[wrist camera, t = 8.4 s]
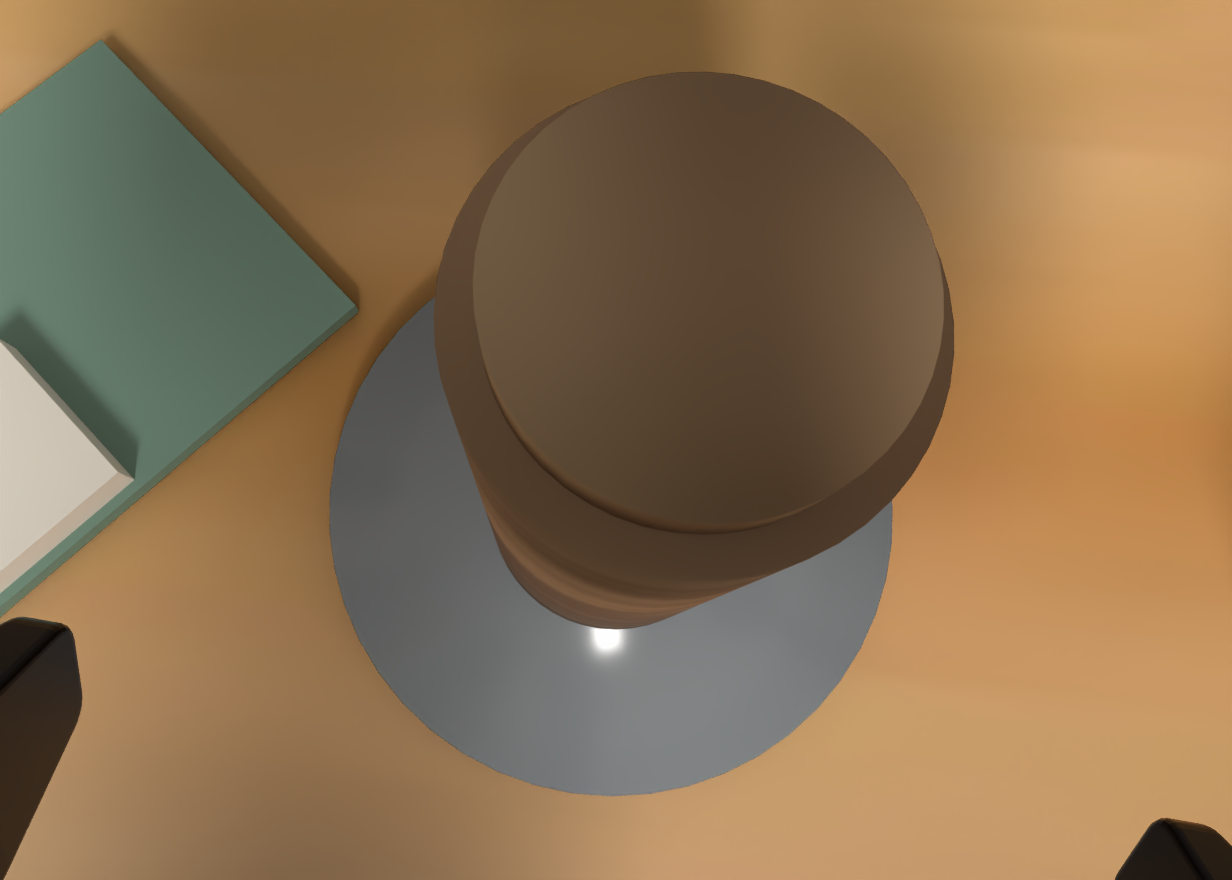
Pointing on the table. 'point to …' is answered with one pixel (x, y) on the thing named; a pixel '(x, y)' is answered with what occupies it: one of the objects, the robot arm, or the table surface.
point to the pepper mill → (688, 342)
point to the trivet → (555, 647)
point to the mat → (127, 307)
